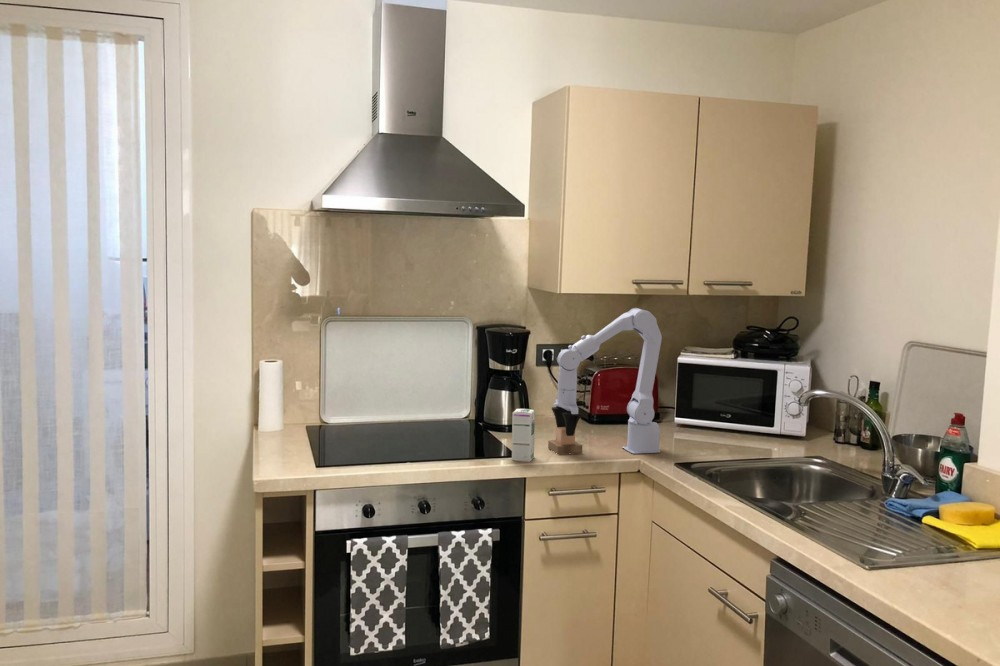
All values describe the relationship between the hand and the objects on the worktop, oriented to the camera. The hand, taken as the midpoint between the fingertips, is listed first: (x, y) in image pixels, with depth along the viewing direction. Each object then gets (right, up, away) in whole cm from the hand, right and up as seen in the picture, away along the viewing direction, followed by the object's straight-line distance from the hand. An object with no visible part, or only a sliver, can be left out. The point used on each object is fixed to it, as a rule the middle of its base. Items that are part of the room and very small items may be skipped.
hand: (565, 432), depth 256 cm
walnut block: (0, -6, +1) cm, 6 cm away
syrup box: (-13, -7, -11) cm, 18 cm away
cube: (0, -3, 0) cm, 3 cm away
